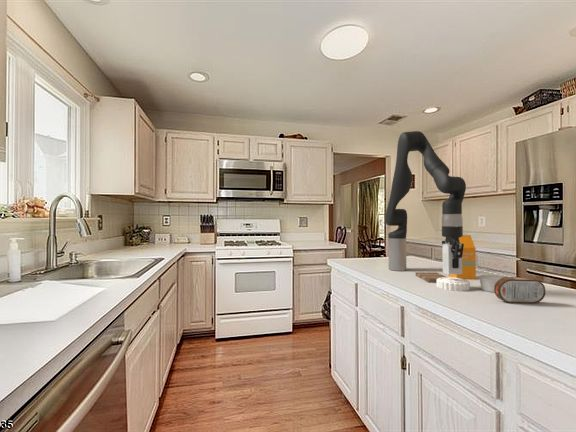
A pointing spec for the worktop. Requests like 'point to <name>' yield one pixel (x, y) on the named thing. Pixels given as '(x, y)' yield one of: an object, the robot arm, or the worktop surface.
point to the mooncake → (453, 284)
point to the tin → (519, 290)
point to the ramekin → (489, 282)
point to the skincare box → (450, 261)
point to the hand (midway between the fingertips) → (452, 266)
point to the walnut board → (429, 276)
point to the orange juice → (467, 259)
